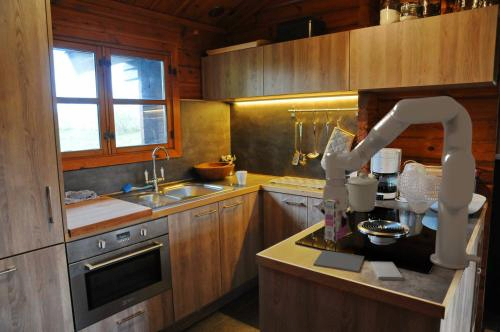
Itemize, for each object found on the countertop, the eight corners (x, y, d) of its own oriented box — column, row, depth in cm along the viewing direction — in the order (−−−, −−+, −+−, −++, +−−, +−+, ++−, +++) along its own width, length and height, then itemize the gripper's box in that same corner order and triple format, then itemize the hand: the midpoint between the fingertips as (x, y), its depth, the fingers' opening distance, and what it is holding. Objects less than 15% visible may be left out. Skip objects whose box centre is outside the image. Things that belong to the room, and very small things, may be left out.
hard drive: (403, 277, 120) (393, 261, 132) (378, 276, 121) (369, 261, 133) (403, 282, 120) (392, 265, 133) (377, 281, 121) (369, 265, 133)
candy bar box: (335, 242, 144) (335, 201, 142) (324, 240, 147) (323, 200, 145) (347, 234, 153) (347, 196, 150) (336, 232, 156) (336, 195, 154)
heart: (449, 220, 183) (451, 176, 179) (421, 222, 180) (423, 178, 177) (415, 206, 210) (417, 168, 207) (390, 207, 208) (391, 169, 204)
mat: (364, 257, 139) (364, 256, 139) (358, 272, 127) (358, 270, 127) (322, 251, 146) (322, 250, 146) (313, 265, 133) (313, 263, 133)
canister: (365, 204, 217) (366, 169, 214) (385, 212, 200) (386, 174, 197) (338, 207, 211) (339, 171, 208) (357, 215, 194) (358, 176, 191)
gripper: (358, 181, 146) (359, 224, 149) (316, 180, 154) (317, 221, 156) (355, 184, 140) (356, 230, 142) (311, 183, 147) (313, 226, 150)
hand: (336, 225), depth 149 cm, fingers closed on candy bar box, 5 cm apart
